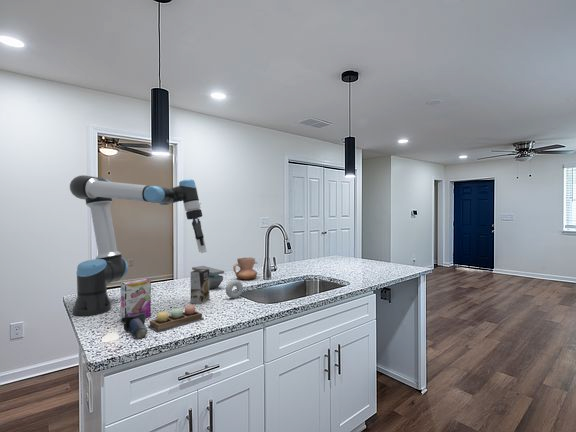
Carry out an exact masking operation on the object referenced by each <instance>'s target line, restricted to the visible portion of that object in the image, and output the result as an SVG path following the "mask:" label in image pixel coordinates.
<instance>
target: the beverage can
mask: <svg viewBox="0 0 576 432" xmlns="http://www.w3.org/2000/svg"><path fill="white" fill-rule="evenodd" d="M146 319H147V317H146V314H145V311H143V312H141V313H139V314H134V315H129V316H128V315H125V316H124V318H122V320H121V319H120V322H122V323H123V330H124V331H125V332H130V331H131V332H132V334H133V335H134V336H135V337H136V338H138V339H142V338H144V337H145V336H147V333H148V327H147V326H146V325H145V323H146ZM124 322H125V323H124Z"/></svg>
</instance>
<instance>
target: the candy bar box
mask: <svg viewBox="0 0 576 432" xmlns="http://www.w3.org/2000/svg"><path fill="white" fill-rule="evenodd" d="M151 289H152V280H150V279H147V278H142V279H137V280H129V281H123V282H120V321H121V320H122V318H124V316H125V315H128V316H129V315H134V314H139V313H141V312H143V311H145V314H146V318H149V317H151V309H152V306H151V303H152V301H151V300H152V297H151V295H152V293H151V292H152V291H151ZM123 323H125V322H123Z"/></svg>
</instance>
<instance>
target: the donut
mask: <svg viewBox="0 0 576 432" xmlns="http://www.w3.org/2000/svg"><path fill="white" fill-rule="evenodd" d="M234 287H236V290H235V291H233V289H234ZM243 289H244V285H243V283H242V282H241V280H240V279H232V280H231V281H229V282H228V283H227V285H226V287H225V294H226V296H227V297H229V298H230V299H237V298H239V297H240V296H241V295H242V293H243Z"/></svg>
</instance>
